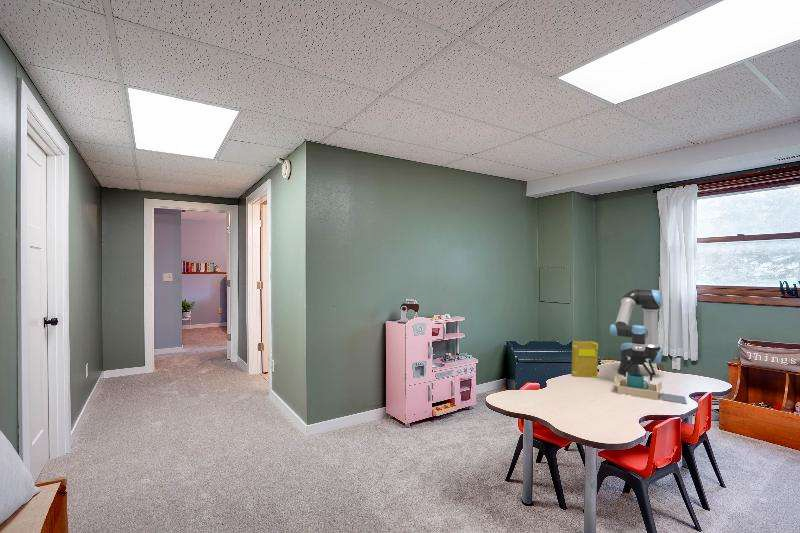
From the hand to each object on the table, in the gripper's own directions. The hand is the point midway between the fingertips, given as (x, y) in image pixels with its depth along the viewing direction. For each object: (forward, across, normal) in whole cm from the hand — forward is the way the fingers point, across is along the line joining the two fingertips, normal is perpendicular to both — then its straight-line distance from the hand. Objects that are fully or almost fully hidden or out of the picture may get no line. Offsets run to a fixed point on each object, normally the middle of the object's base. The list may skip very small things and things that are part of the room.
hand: (637, 383), depth 255 cm
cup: (+6, 0, 0) cm, 6 cm away
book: (+6, -34, +24) cm, 42 cm away
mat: (+6, +19, 0) cm, 20 cm away
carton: (+6, 0, 0) cm, 6 cm away
